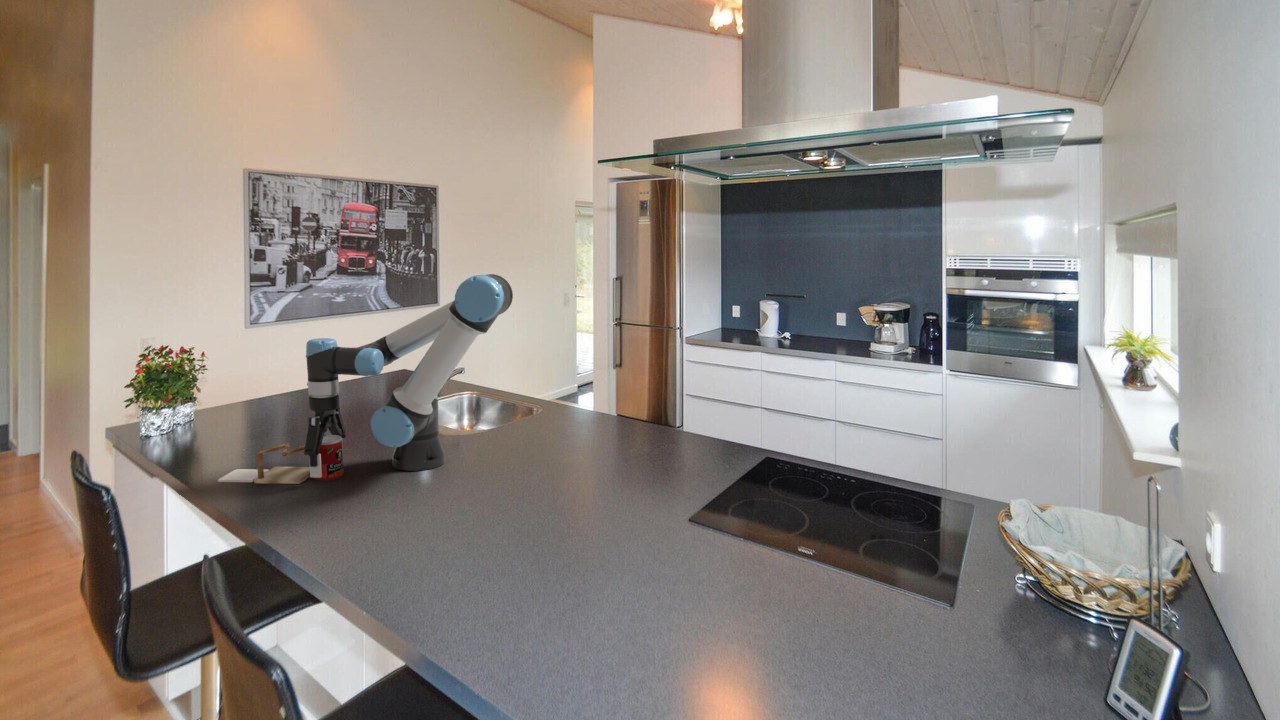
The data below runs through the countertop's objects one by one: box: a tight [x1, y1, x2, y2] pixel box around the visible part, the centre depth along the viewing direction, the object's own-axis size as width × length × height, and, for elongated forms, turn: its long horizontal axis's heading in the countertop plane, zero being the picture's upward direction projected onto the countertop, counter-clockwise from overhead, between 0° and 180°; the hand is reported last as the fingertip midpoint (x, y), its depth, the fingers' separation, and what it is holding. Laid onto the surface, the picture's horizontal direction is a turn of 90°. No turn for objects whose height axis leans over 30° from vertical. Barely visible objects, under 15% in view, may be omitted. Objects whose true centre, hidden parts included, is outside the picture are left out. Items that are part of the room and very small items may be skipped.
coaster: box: [217, 468, 270, 483], centre depth 173 cm, size 9×8×1 cm
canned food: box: [314, 434, 345, 482], centre depth 174 cm, size 8×8×11 cm
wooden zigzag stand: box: [253, 442, 311, 485], centre depth 173 cm, size 12×10×8 cm
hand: (327, 468), depth 175 cm, fingers open, 13 cm apart
